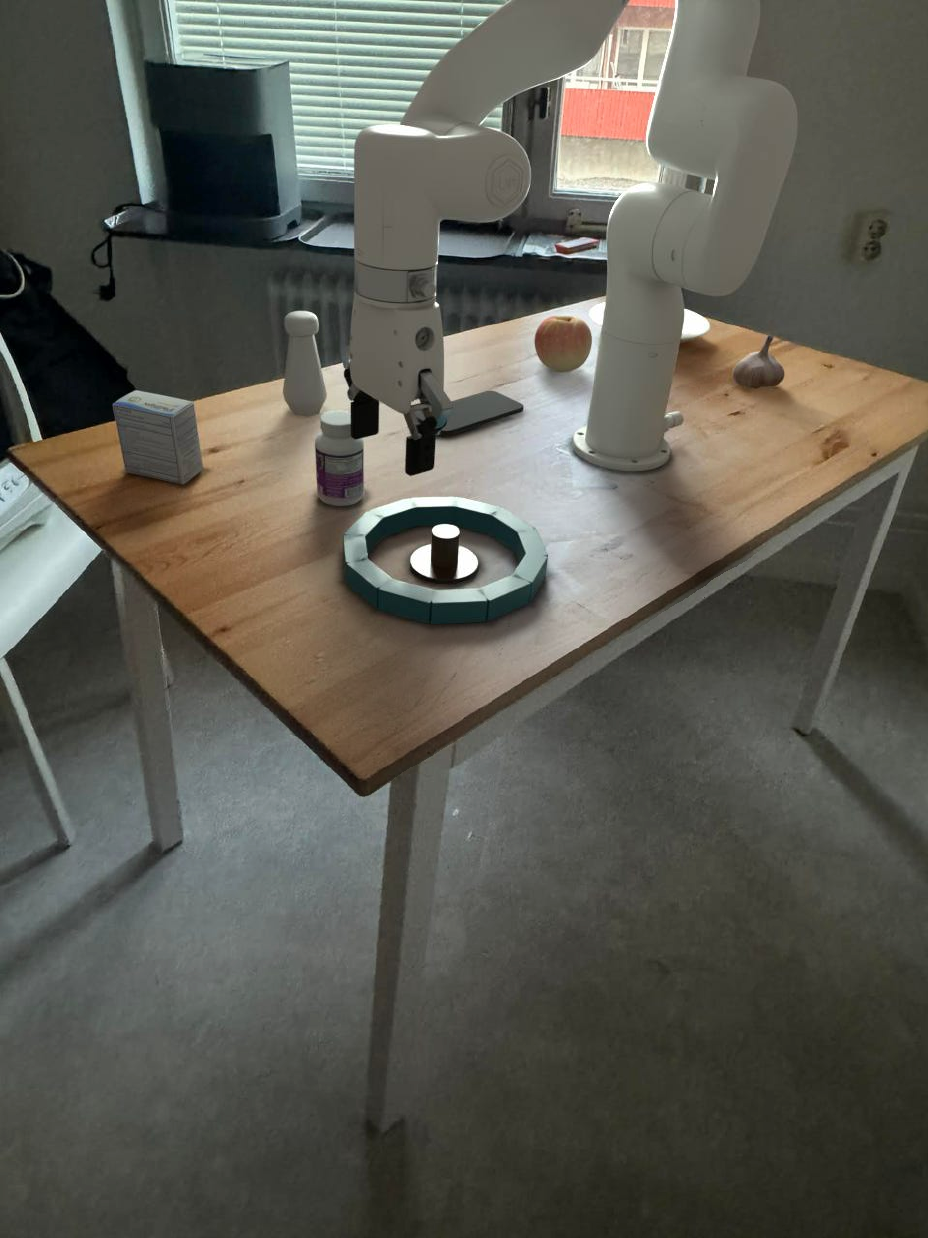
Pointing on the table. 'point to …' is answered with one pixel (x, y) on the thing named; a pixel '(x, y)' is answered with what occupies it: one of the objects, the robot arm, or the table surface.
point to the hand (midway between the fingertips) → (391, 453)
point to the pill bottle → (339, 460)
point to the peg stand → (444, 558)
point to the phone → (477, 411)
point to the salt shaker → (303, 366)
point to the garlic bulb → (759, 369)
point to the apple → (563, 343)
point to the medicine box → (158, 436)
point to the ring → (444, 602)
